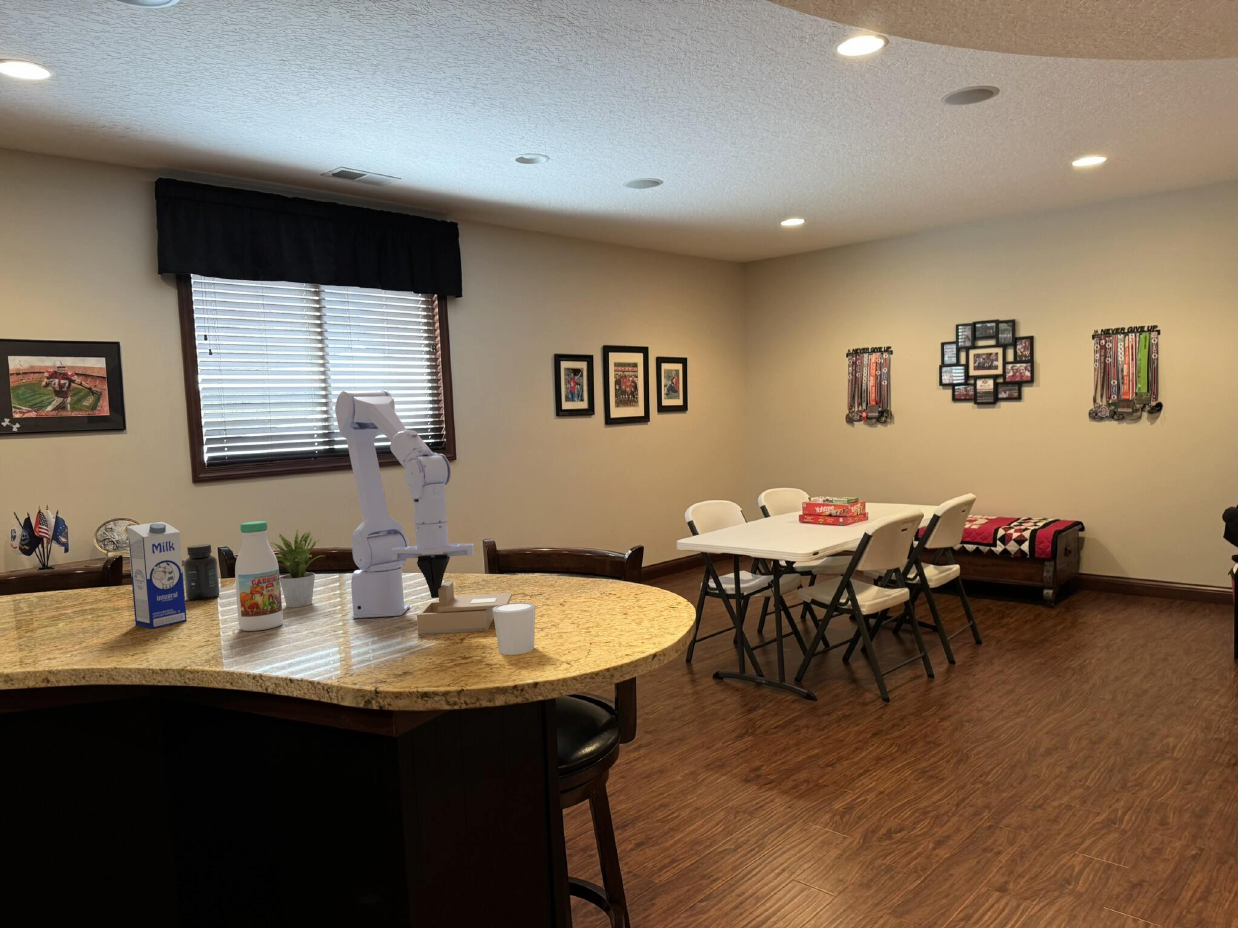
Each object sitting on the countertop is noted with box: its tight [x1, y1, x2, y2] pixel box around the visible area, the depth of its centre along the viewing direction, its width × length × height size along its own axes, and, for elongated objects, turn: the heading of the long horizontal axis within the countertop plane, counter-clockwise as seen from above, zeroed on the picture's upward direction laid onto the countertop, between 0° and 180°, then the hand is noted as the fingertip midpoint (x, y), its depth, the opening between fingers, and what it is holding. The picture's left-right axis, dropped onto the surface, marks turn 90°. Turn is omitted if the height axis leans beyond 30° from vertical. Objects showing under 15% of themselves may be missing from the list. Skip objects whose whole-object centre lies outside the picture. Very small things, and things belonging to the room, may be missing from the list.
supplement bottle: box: [183, 543, 220, 602], centre depth 189 cm, size 7×7×12 cm
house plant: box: [268, 529, 328, 608], centre depth 178 cm, size 14×14×16 cm
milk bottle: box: [234, 520, 284, 632], centre depth 158 cm, size 8×8×20 cm
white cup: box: [493, 602, 536, 656], centre depth 133 cm, size 7×7×7 cm
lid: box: [438, 581, 513, 612], centre depth 151 cm, size 12×10×4 cm
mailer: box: [416, 600, 494, 636], centre depth 151 cm, size 12×10×4 cm
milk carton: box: [126, 521, 188, 630], centre depth 165 cm, size 7×7×20 cm
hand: (435, 596), depth 151 cm, fingers closed
